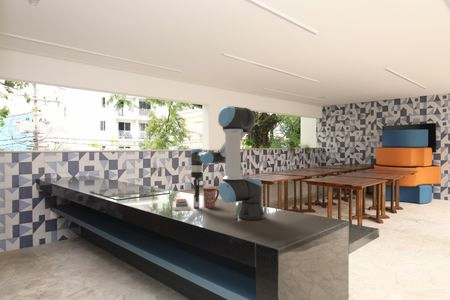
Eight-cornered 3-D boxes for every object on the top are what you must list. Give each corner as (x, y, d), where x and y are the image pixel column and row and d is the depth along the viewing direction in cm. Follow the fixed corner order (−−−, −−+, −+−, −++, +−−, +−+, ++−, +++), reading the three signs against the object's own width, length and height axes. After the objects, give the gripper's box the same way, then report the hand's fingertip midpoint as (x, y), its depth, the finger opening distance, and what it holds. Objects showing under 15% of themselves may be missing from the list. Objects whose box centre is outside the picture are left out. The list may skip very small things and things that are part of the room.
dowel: (199, 207, 206) (199, 190, 206) (199, 208, 202) (199, 190, 202) (193, 207, 205) (193, 190, 205) (193, 208, 202) (194, 191, 202)
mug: (208, 208, 202) (208, 188, 202) (200, 206, 209) (200, 187, 209) (222, 206, 210) (222, 187, 210) (214, 204, 217) (214, 186, 217)
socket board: (188, 203, 220) (188, 198, 220) (190, 209, 198) (190, 203, 198) (173, 204, 218) (173, 198, 218) (173, 210, 196) (173, 204, 196)
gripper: (190, 170, 211) (190, 203, 212) (192, 172, 195) (191, 208, 195) (200, 170, 213) (200, 203, 213) (203, 172, 196) (203, 208, 196)
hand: (196, 205), depth 204 cm, fingers closed on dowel, 4 cm apart
